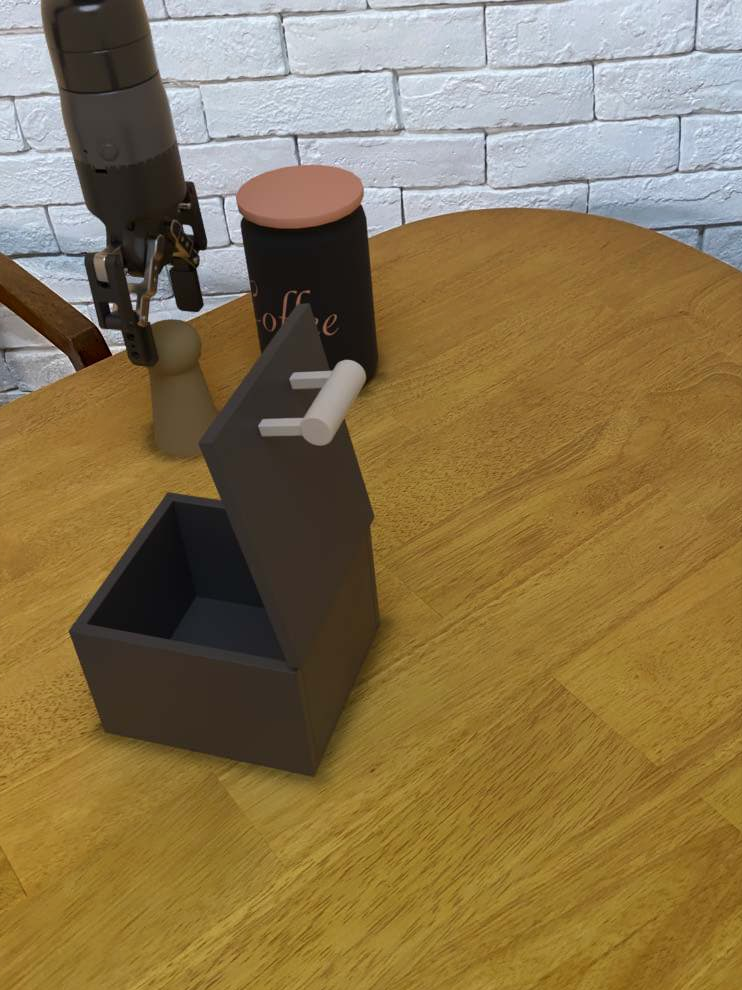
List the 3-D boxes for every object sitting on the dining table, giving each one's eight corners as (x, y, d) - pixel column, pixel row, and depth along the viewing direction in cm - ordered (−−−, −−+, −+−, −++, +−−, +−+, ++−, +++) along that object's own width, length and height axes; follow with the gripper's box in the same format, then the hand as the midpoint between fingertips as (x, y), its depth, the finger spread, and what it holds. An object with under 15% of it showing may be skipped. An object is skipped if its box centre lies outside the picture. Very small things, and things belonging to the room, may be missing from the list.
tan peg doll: (141, 452, 97) (113, 341, 90) (177, 413, 102) (152, 305, 94) (203, 464, 96) (178, 352, 88) (236, 425, 100) (216, 315, 93)
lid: (197, 442, 54) (290, 440, 52) (297, 303, 64) (378, 297, 62) (288, 668, 64) (370, 673, 62) (364, 516, 73) (436, 517, 71)
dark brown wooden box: (105, 735, 74) (68, 630, 67) (193, 595, 83) (167, 491, 77) (314, 780, 70) (296, 673, 64) (380, 628, 80) (370, 522, 73)
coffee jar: (241, 386, 104) (208, 201, 93) (312, 334, 111) (290, 155, 99) (332, 420, 99) (309, 229, 88) (401, 363, 106) (389, 178, 94)
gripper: (122, 101, 87) (165, 289, 98) (25, 178, 77) (85, 378, 88) (211, 105, 85) (245, 297, 96) (123, 184, 75) (172, 389, 86)
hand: (169, 336), depth 92 cm, fingers open, 8 cm apart
